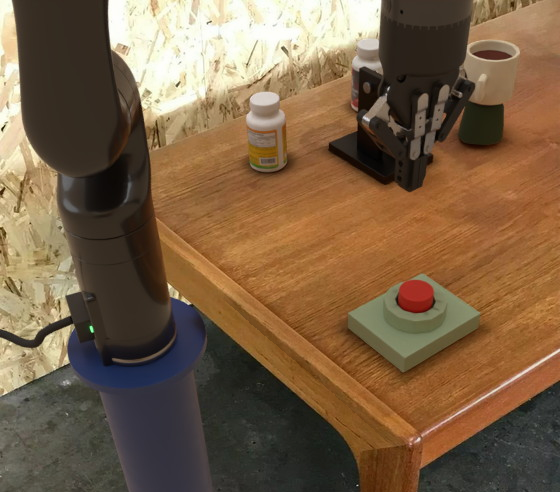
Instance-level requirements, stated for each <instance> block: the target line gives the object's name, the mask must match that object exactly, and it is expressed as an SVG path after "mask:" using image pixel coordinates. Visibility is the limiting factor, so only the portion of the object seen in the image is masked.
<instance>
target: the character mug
mask: <svg viewBox="0 0 560 492" xmlns="http://www.w3.org/2000/svg"><path fill="white" fill-rule="evenodd" d="M520 52H521V49H520V48H519V47H518V46H517V45H516V44H514V43H512V42H510V41H506V40H501V39H480V40H477V41H473V42H471V43H468V45H467V53H466V58H465V61H464V67H463V75H462V77H464V78H466V79H468V80H470V81H472V82H474V83H475V90H474V92H473V93H472V95H471V97H470V99H469V100H468V102H467V104H466V105H465V107H464V109H463V111H462V116H461V119H460V122H459V127H458V132H457V135H458V136H457V137H458V138H459V140H460V141H461V142H463V143H465V144H468V145H469V144H471V145H482V146H487V145H488V146H489V145H495V144H498V143H499V142H501V141H502V140H503V137H504V126H505V105H504V104H505V103H508V102H509V101H510V100H511V99H512V98H513V95H514V90H515V85H516V78H517V73H518V68H519V62H520V55H521V53H520Z"/></svg>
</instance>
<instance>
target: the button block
mask: <svg viewBox="0 0 560 492" xmlns="http://www.w3.org/2000/svg"><path fill="white" fill-rule="evenodd" d="M409 280H422V281H425V282H427V283H429V284H430V285H431V286H432V287H433V290H434V295H433V303H432V307H431V308H430V310H428V311H427V312H424V313H411V312H407V311H404V310H402V309H401V308H400V306H399V304H398V297H399V288H400V286H401V285H402V284H403V283H404V282H405V281H400V282H398V283H396V284H394V285H392V286H390V287H389V288H388V289H387V291H386V292H385V293H382V294H380V295H379V296H377V297H375V298H373V299H371V300H370V301H367V302H366V303H364V304H362V305H360V306H358V307H357V308H355V309H353V310H351V311H349V312H348V313H347V329H348V330H349V331H351V332H352V333H353V334H354V335H356V336H357V337H358V338H359V339H361V340H362V341H363V342H364V343H365V344H367V345H368V346H369V347H370V348H371V349H373V350H374V351H376V353H378V354H379V355H381V357H383V358H384V359H385V360H387V361H388V362H389V363H391V364H392V365H393V366H394V367H395V368H397V369H398V370H399V371H400V372H402V373H406V372H408V371H409V370H411V369H413V368H414V367H416V366H417V365H420V364H421V363H422V362H424V361H426V360H427V359H429V358H431V357H432V356H434V355H436V354H437V353H439V352H441V351H443V350H444V349H446V348H447V347H449V346H451V345H453V344H454V343H456V342H458V341H459V340H461V339H463V338H465V337H466V336H468V335H469V334H471V333H472V332H475V330H477V329H479V325H480V320H481V314H482V313H481V312H480V311H478V310H477V309H475V308H474V307H472V306H471V305H470V304H468V303H467V302H465V301H464V300H462V299H461V298H460V297H458V296H456V294H454V293H452V292H451V291H450V290H448V289H446V288H445V287H444V286H442V285H441V284H439V283H438V282H436V281H435V280H433V279H432V278H431V277H429V276H428V275H426V274H424V273H423V272H422V273H421V272H420V274H418V275H416V276H414V277H412V278H410V279H408V280H407V281H409Z"/></svg>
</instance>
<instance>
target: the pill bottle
mask: <svg viewBox="0 0 560 492" xmlns="http://www.w3.org/2000/svg"><path fill="white" fill-rule="evenodd" d="M378 50H379V38H374V37H372V38H371V37H369V38H368V37H367V38H363V39H361V40H358V41H357V42H356V50H355V51H356V56H354V57H353V59H352V61H351V86H350V87H351V89H350V106H351V108H352V110H354V111H355V112H357V113H358V89H359V68H361V67H364V66H365V67H367V68H369V69H371V70H373V71H375V69H378V68H380V67H382V65H381V62H380V60H379V56H378Z"/></svg>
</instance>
